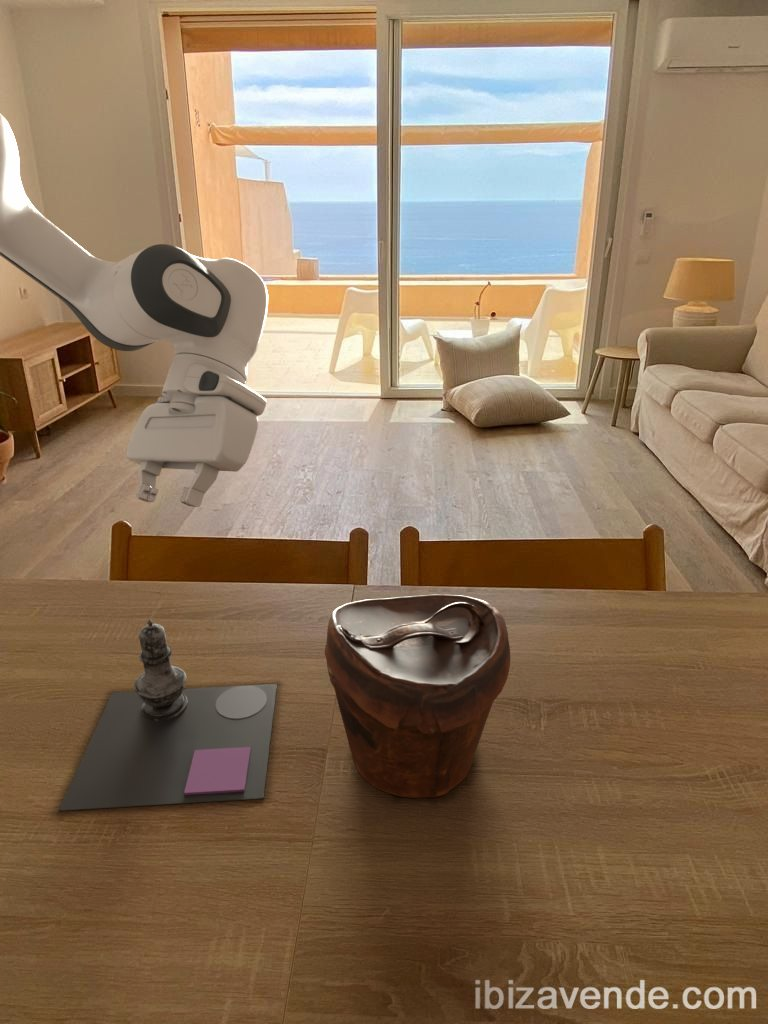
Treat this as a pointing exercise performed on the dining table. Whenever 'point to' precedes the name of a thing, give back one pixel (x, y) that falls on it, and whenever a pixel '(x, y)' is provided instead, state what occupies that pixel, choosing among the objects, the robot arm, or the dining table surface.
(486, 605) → the brown pot
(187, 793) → the pink square tile
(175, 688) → the chess piece
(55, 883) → the dining table surface
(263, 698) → the mat
